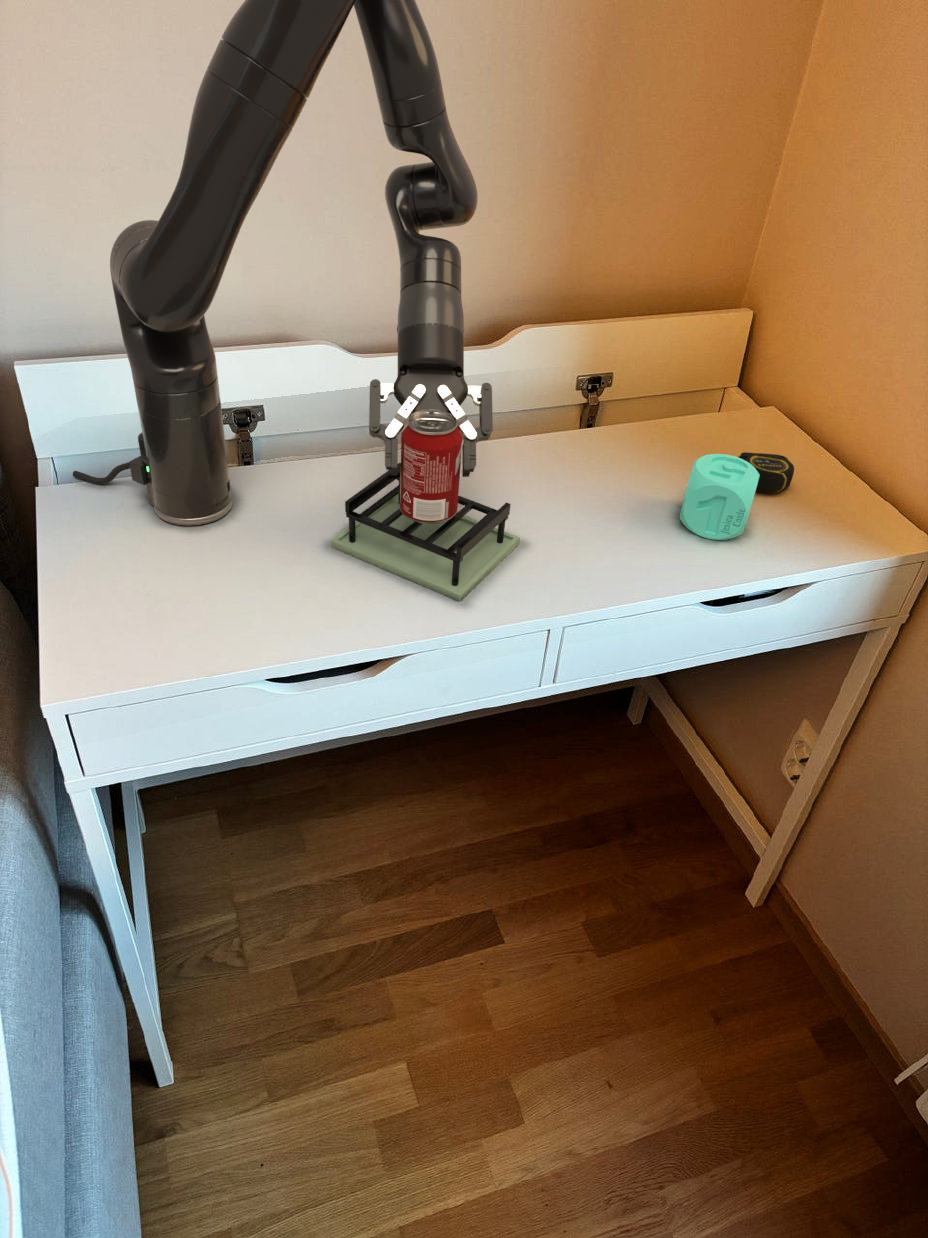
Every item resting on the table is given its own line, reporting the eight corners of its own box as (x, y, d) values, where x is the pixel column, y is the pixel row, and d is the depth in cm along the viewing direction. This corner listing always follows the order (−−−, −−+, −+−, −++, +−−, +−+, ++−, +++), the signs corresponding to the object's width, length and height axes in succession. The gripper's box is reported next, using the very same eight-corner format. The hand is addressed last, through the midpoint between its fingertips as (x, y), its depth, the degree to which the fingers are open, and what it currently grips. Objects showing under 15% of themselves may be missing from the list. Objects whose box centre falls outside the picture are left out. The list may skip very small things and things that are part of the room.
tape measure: (782, 474, 132) (789, 451, 130) (792, 500, 127) (800, 476, 125) (733, 470, 132) (740, 446, 130) (742, 496, 127) (749, 472, 125)
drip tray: (331, 547, 112) (331, 540, 111) (397, 496, 122) (397, 489, 121) (459, 602, 105) (460, 595, 105) (519, 544, 115) (520, 537, 114)
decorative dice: (675, 531, 119) (689, 476, 114) (686, 500, 125) (699, 447, 120) (738, 547, 117) (755, 492, 112) (746, 515, 123) (763, 461, 118)
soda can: (450, 533, 108) (456, 439, 100) (393, 523, 109) (394, 429, 101) (462, 502, 113) (468, 411, 105) (407, 493, 114) (410, 402, 106)
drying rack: (345, 540, 112) (344, 501, 109) (398, 499, 120) (399, 462, 116) (458, 588, 106) (461, 548, 103) (506, 542, 114) (510, 503, 111)
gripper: (367, 317, 103) (366, 464, 101) (497, 322, 104) (498, 467, 103) (367, 344, 110) (367, 481, 109) (489, 348, 112) (489, 483, 110)
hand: (430, 474), depth 106 cm, fingers open, 7 cm apart
